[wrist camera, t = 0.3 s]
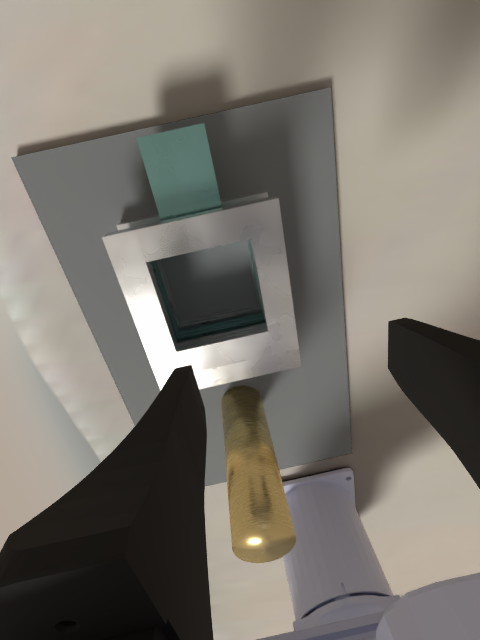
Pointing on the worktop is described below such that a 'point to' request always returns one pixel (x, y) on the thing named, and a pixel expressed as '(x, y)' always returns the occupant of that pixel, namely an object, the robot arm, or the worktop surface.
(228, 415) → the pin
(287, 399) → the mat
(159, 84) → the worktop surface
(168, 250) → the grey teal hollow block
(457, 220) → the worktop surface
